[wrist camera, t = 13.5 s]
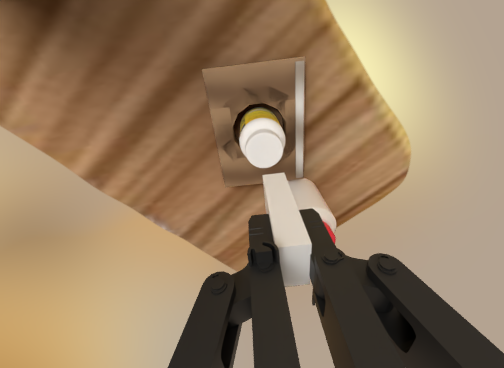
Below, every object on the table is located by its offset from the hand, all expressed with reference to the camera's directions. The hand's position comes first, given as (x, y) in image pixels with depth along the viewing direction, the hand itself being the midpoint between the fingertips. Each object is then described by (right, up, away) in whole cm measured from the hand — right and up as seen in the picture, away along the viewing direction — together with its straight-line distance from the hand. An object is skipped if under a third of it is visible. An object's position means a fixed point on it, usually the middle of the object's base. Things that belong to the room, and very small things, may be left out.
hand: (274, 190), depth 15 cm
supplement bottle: (-1, +9, +16) cm, 18 cm away
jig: (-1, +9, +16) cm, 18 cm away
